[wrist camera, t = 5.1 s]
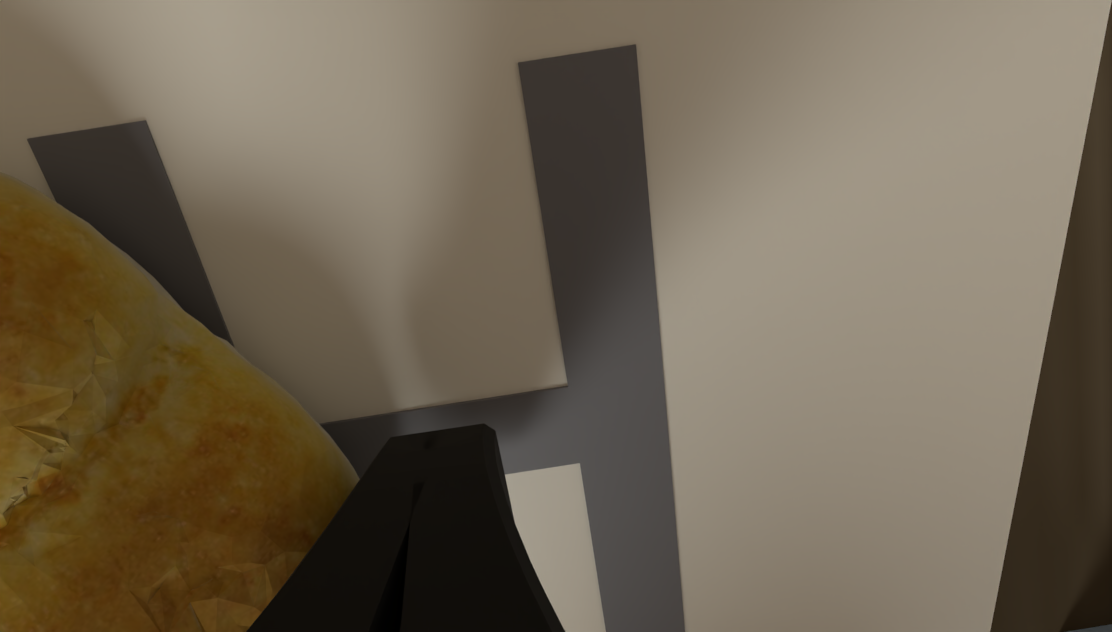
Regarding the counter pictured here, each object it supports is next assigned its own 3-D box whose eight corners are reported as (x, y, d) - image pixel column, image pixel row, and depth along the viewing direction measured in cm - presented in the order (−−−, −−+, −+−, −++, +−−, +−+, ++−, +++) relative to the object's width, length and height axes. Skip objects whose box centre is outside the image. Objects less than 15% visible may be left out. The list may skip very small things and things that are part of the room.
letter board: (973, 647, 13) (985, 665, 12) (40, 788, 13) (28, 809, 12) (1127, -204, 7) (1154, -212, 7) (-531, 53, 7) (-576, 59, 7)
